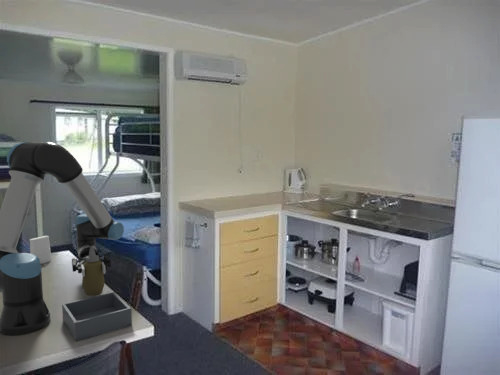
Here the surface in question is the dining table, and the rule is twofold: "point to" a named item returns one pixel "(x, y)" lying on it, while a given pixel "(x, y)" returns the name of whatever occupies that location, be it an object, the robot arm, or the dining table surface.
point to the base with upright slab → (41, 248)
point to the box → (96, 315)
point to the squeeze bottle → (93, 275)
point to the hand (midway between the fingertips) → (94, 271)
